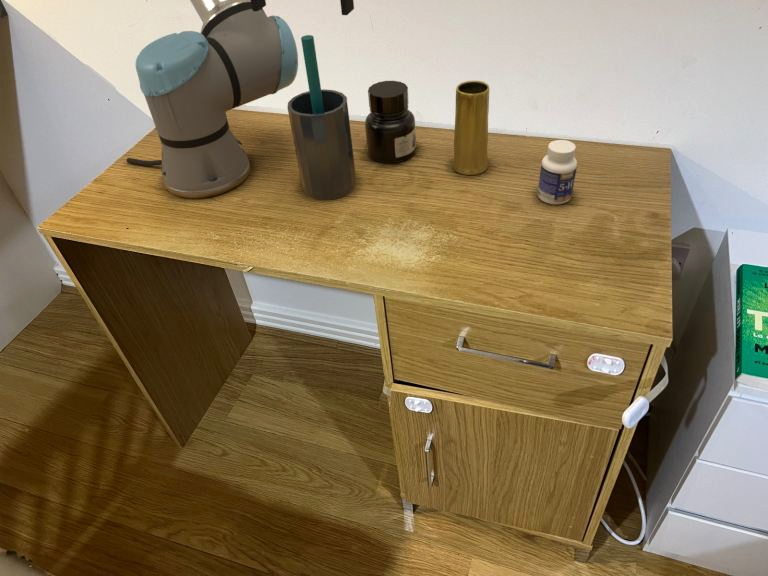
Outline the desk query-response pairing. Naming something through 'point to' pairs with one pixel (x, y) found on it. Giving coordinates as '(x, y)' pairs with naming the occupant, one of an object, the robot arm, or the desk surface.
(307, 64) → the brush
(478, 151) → the vase
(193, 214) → the desk surface
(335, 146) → the grey pvc pipe
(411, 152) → the ink bottle
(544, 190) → the pill bottle
